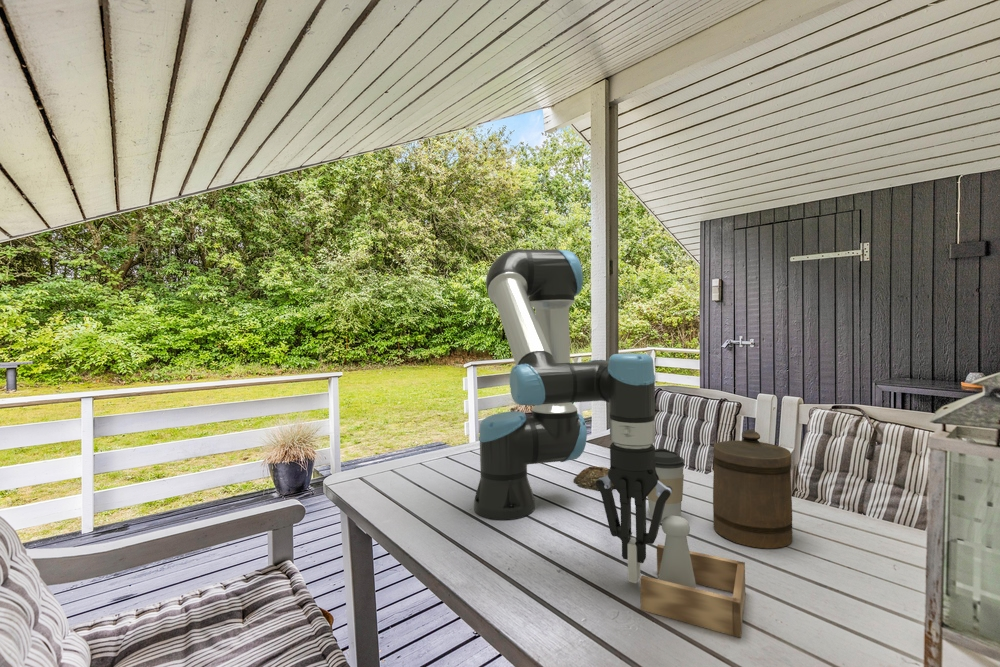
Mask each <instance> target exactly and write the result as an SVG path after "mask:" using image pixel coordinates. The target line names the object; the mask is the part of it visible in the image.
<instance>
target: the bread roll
mask: <svg viewBox="0 0 1000 667" xmlns="http://www.w3.org/2000/svg"><path fill="white" fill-rule="evenodd" d="M609 469H610V468H608V467H605V466H596V465H594V466H592V465H591V466H588V467H586V468H584V469H583V470H581V471H580V472H579V473H578V474H577V475H576V476H575V477H574V479H573V483H574V484H575V485H577V486H578V487H579V488H582V489H587V490H592V491H597V492H600V491H599V490H598V488H597V486H596V484H595V482H596V481H597V480H598V479H599V478H600V477H602V476H603V477H604V476H606V475H608V471H609ZM611 489H612V490H613V489H616V488H615V487H614V485H613V484H612V482H611Z"/></svg>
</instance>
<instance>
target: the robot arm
mask: <svg viewBox="0 0 1000 667" xmlns="http://www.w3.org/2000/svg"><path fill="white" fill-rule="evenodd" d="M485 279H486V280H485V285H486V286H485V288H486V292H487V295H488V297H489V300H490V302H492V304H495V306H496V309H497V313H498V315H499V317H500V321H501V324H502V327H503V330H504V333H505V336H506V340H507V342H508V346H509V348H510V351H511V355H512V357H513V360H514V364H515V365H513V367H512V368H511V370H510V373H509V388H510V396H511V398H512V400H513V402H514V403H516V404H517V405H521V406H533V407H532V408H531V416H529V417H527V414H526V413H525V412H523V411H517V410H516V411H504V412H499V413H494V414H492V415H488V416H487V417H485V418H483V419H482V420H481V422H480V423H479V424H480V425H479V434H478V435H479V436H478V441H479V458H480V459H479V460H480V461H479V462H480V463H479V464H480V477H479V478H480V479H479V482H478V485H477V489H476V492H475V496H474V500H473V505H474V507H473V508H474V511H475V513H476V514H478V515H479V516H481V517H484V518H488V519H493V520H514V519H520V518H523V517H527V516H529V515H530V514H532V513H533V512H534V511H535V510H536V509H535V507H536V505H535V504H536V501H535V500H536V499H535V496H534V493H533V490H532V487H531V483H530V481H529V478H528V466H529V465H537V464H546V463H547V464H549V463H558V462H560V463H564V462H567V461H573V460H577V459H578V458H580V457H581V456H582V454H583V452H584V451H585V448H586V444H587V437H588V434H587V433H588V430H587V425H586V420H585V417H584V416H583V415H582V414H580V413H578V407H577V406H576V405H575V404H573V403H585V402H587V403H588V402H599V401H600V402H604V403H605V402H606V403H609V404H608V406H609V407H608V408H609V440H610V441H611V444H609V457H610V458H609V461H610V462H609V463H610V465H609V466H610V467H609V468H608V469H609V471H608V475H606V476H604V477H603V476H602V477H600V478H599V479H598V480H597V481H596V482H595V484H596V486H597V488H598V490H599V491H598V492H599V493H600V495H601V499H602V502H603V507H604V511H605V515H606V519H607V522H608V523H607V524H608V527H609V532H610V535H611V536H612V537H617V538H618V539H619V540H620V541H621V557H622V559H623V560H626V561H627V581H628V582H630V583H633V584H638V581H639V580H640V578H641V564H644V562H645V560H646V558H647V545H648V544H650V545H653V544H655V541H656V540H657V537H658V535H659V534H658V533H659V530H660V525H661V523H662V521H661V518H662V514H663V510H664V506H665V503H666V501H667V499H668V498H669V497H670V495H671V493H672V488H671V487H670V486H667V487H666V486H665V485H664V484H662V483H661V482H660V481H659V477H658V475H657V473H656V466H655V450H656V447H655V445H654V443H655V442H656V422H655V420H656V419H655V415H656V413H655V410H656V409H655V404H656V400H655V395H656V394H655V393H656V392H655V390H656V389H655V388H656V385H655V384H656V382H655V381H656V374H655V368H654V367H655V366H654V360H653V357H652V356H651V355H649V354H647V353H636V352H635V353H633V352H632V353H629V352H628V353H627V352H626V353H615V354H612V355H610V357H609V360H608V361H607V360H605V359H593V360H588V361H581V362H571V347H570V346H571V345H570V344H571V343H570V342H571V341H570V340H571V339H570V338H571V337H570V336H571V335H570V308H571V306H572V305H573V304H574V303H575V302H576V301H575V297H576V296H578V295H579V294H580V293H581V292H582V288H583V286H582V285H583V284H584V272H583V268H582V264H581V261H580V260H579V257H578V256H577V254H575V253H574V252H573V251H571V250H565V249H558V248H555V249H553V248H551V249H546V248H545V249H534V248H533V249H532V248H531V249H530V248H529V249H527V248H526V249H524V248H515V249H512V250H508V251H506V252H504V253H503V254H501V255H500V256H498V257H497V258H496V259H495V260H494V261H493V263H492V264H491V266H490V268H489V269H488V272H487V275H486V278H485ZM611 482H612V484H613V485H614V487H615V488H614V489H615V490H616V492H617V493H618V494H619V503H620V516H619V514H618V509H617V505H616V501H615V498H614V494H613V489H611ZM654 487H655V488H656V496H657V497H659V498H658V499H657V501H656V505H655V509H654V513H653V517H651V520H650V526H649V530H648V532H647V496H648V495H649V493H650V492H651V491H652V490H653V489H654ZM632 499H634V505H635V537H633V536H632V534H633V532H632ZM619 517H620V518H619Z"/></svg>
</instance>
